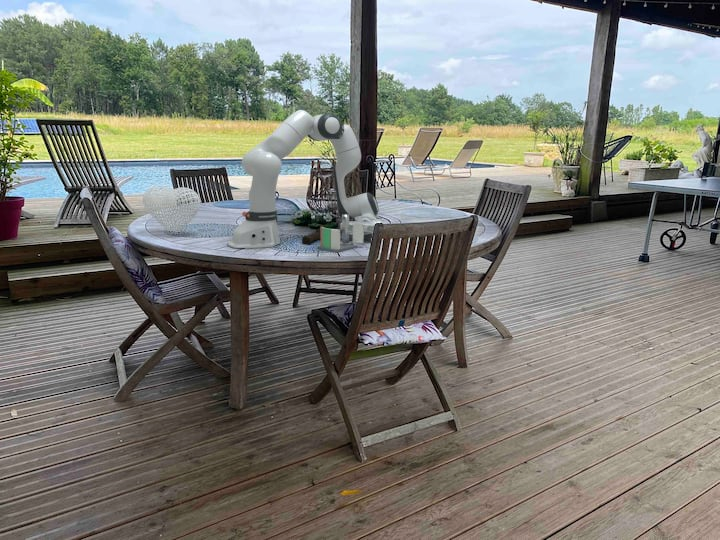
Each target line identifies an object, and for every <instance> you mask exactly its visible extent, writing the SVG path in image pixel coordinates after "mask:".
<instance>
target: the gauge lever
mask: <svg viewBox="0 0 720 540" xmlns="http://www.w3.org/2000/svg"><path fill="white" fill-rule="evenodd" d="M349 221H350V220H349V215H348V214H343V215H342V218H341V217H340V218H339V219H337V220H336V223H338V224H341V223H342V231H341V241H342V242H350V236H352V242H353V244H354V243H356V244H364V241H365V240H364V239H365V237H364V236H365V235H364V224H362V223H353V231H349Z"/></svg>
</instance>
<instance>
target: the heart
mask: <svg viewBox="0 0 720 540" xmlns="http://www.w3.org/2000/svg"><path fill="white" fill-rule="evenodd" d="M142 202H143V206H144V208H145V210H146V211H147V213H148V214H149V215H150V216H151V217H152V218H153V219H154V220H155V221H157V223H159V225H161V227H163V229H164V230H166V232H168V231H170V232H171V231H173V232H174V230H175V231H176V232H180V231H181V232H182V231H183V230H184V228H186V226H187V225H188V224H189V223H190V222H191V221H192V220H193V219H194V218H195V216H196V215H197V214H198V211H199V210H200V207H201V199H200V197H199V194H198V193H197V192H196V191H195V190H193V189H191V188H189V187H184V186H183V187H177V188H173V189H172V188H170V187H168V186H164V185H154V186H152V187H150V188H148V189H147V190H146V191H145V192H144V194H143V198H142ZM159 205H160V206H159ZM177 230H178V231H177ZM181 232H180V233H181Z"/></svg>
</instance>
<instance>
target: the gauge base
mask: <svg viewBox="0 0 720 540" xmlns="http://www.w3.org/2000/svg"><path fill="white" fill-rule="evenodd" d="M319 229H320V238H321V239H320V245H317V246H316V249H317V250H322V251H326V252H330V251H331V252H330V253H337V254H338V253H341V252H346V251H349V250H354V249H357V248H358V245H357V244H354V243H353V241H349V242H342V240H341V230H340V229H338V228H336V229H335V228H329V227H328V228H327V227H324V226H320V228H319ZM353 248H354V249H353Z"/></svg>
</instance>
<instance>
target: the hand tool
mask: <svg viewBox="0 0 720 540" xmlns="http://www.w3.org/2000/svg"><path fill="white" fill-rule="evenodd" d="M301 237H302V238H301V243H302V245H305V244H309V245H311V244H312V243H313V242H316V241H317V240H321V238H320V228H318V229H315V231H314V232H313V233H310V234H307V235H305V236H301Z"/></svg>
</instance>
